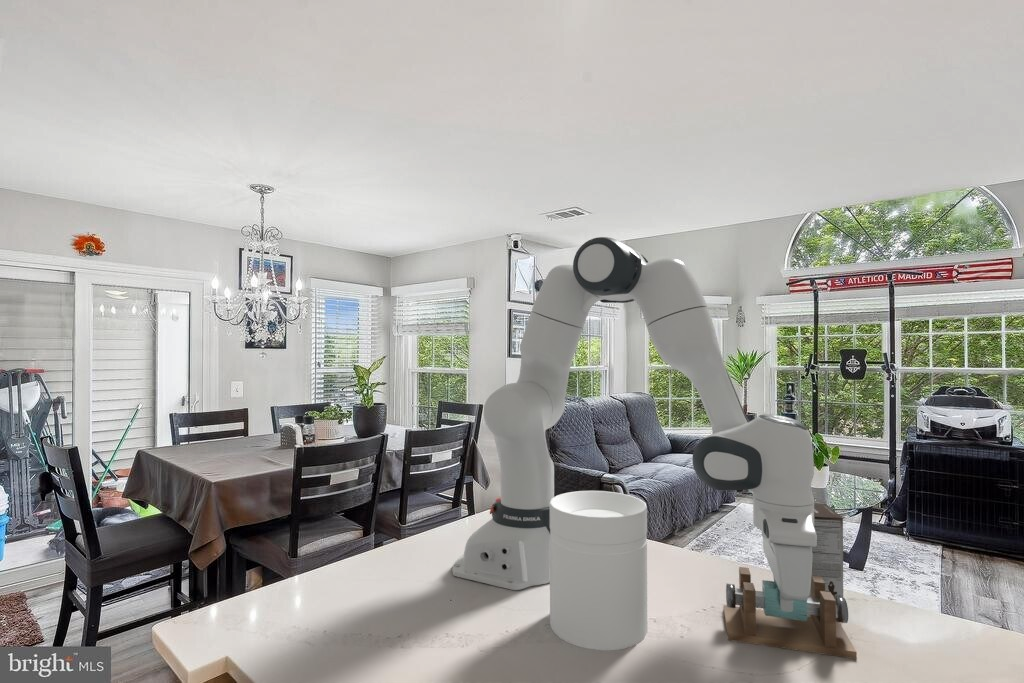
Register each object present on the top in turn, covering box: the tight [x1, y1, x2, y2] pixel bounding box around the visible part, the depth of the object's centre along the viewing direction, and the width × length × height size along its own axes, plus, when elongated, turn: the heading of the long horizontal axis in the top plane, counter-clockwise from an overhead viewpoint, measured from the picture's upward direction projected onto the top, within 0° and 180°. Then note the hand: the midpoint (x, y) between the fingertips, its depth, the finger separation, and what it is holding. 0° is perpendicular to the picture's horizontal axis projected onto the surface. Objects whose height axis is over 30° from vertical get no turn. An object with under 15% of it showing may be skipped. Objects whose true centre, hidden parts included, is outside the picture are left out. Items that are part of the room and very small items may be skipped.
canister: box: [549, 490, 649, 652], centre depth 90 cm, size 16×16×20 cm
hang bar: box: [725, 579, 849, 624], centre depth 87 cm, size 17×4×4 cm, turn 73°
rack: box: [723, 566, 858, 659], centre depth 87 cm, size 18×10×8 cm, turn 73°
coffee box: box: [809, 502, 844, 598], centre depth 100 cm, size 9×6×16 cm
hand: (783, 603), depth 87 cm, fingers closed on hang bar, 3 cm apart
